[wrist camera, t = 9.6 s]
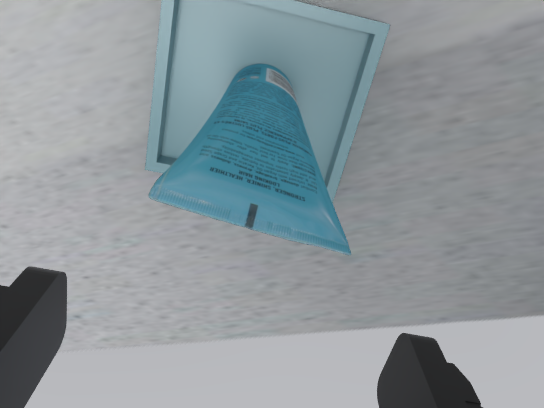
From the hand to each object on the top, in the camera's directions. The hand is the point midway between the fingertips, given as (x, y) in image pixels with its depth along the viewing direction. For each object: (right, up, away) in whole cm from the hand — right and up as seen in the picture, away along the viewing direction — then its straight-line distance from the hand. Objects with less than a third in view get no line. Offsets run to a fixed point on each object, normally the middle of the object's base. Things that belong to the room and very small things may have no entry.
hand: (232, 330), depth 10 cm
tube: (0, +11, +22) cm, 25 cm away
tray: (0, +11, +22) cm, 25 cm away
